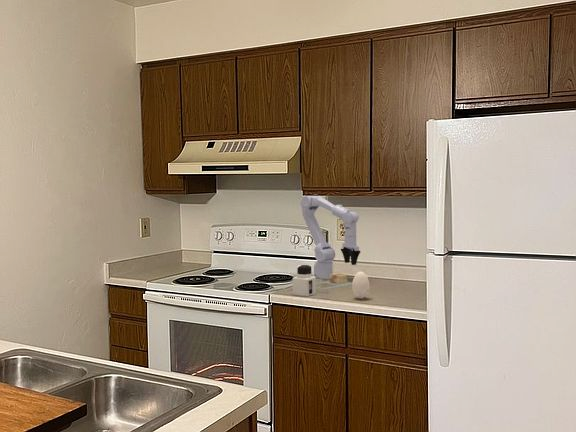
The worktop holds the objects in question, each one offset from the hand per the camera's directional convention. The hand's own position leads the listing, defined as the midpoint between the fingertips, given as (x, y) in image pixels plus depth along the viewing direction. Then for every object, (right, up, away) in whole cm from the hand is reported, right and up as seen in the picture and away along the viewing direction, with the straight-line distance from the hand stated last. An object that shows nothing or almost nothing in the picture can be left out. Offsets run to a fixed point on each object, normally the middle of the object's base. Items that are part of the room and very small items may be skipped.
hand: (350, 263), depth 298 cm
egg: (+1, -12, -37) cm, 39 cm away
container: (-23, -12, -26) cm, 37 cm away
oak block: (-6, -9, -5) cm, 12 cm away
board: (-11, -10, -8) cm, 17 cm away
